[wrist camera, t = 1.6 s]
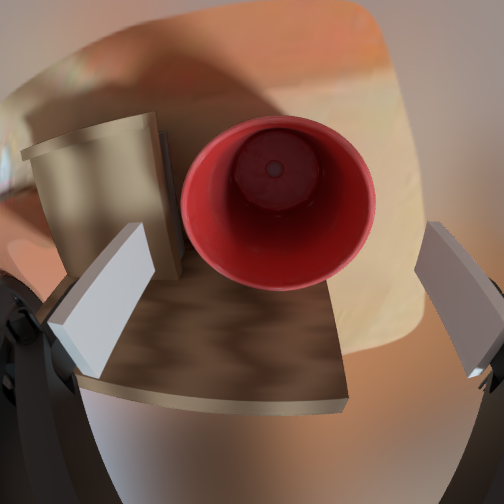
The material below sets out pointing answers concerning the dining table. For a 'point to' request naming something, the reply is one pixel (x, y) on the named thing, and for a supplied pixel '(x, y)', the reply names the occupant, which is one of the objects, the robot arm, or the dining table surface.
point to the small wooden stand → (109, 191)
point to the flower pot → (278, 203)
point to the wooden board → (224, 347)
